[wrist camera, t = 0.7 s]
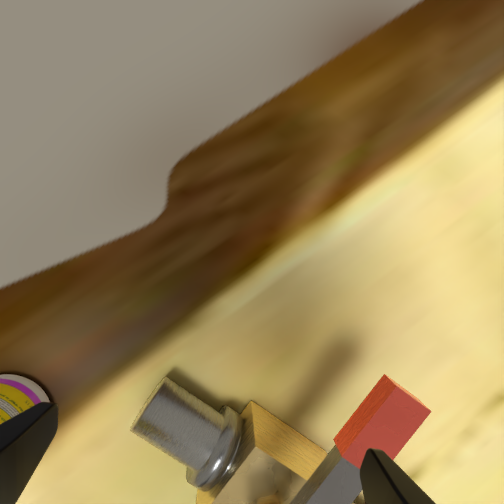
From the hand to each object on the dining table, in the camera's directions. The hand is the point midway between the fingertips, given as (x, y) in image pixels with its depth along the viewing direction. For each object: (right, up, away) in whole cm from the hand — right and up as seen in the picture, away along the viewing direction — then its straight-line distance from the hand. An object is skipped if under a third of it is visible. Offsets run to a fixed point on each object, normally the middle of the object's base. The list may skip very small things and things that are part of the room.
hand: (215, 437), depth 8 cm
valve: (+2, -12, +16) cm, 20 cm away
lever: (+6, -8, +9) cm, 14 cm away
